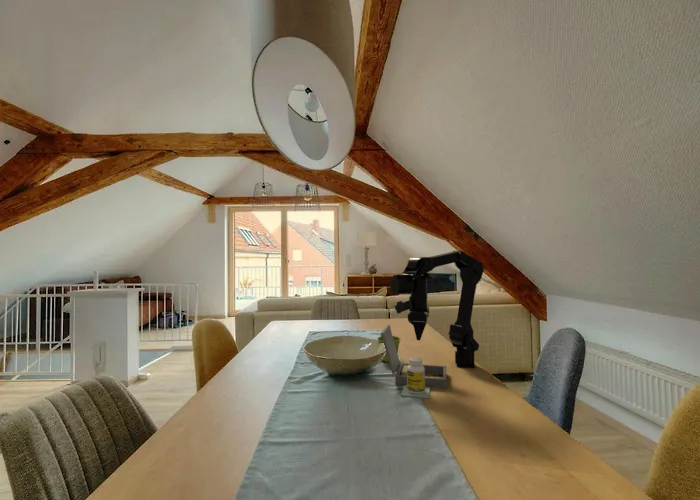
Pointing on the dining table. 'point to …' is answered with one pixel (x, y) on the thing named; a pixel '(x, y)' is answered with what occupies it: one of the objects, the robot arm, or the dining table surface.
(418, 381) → the supplement bottle
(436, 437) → the dining table surface
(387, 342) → the lid
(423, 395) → the pad
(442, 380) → the case
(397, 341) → the plant pot
